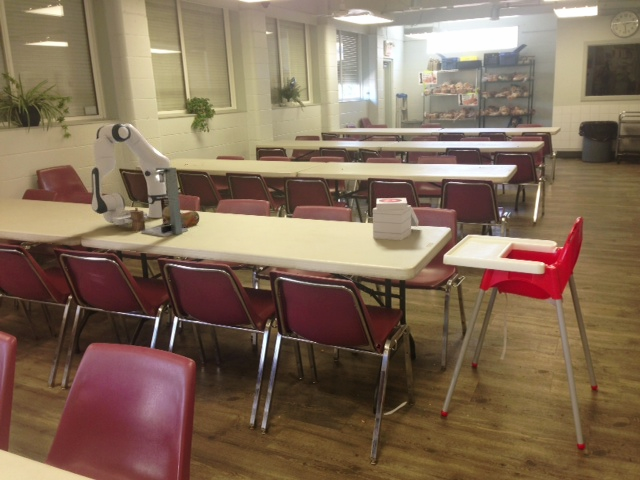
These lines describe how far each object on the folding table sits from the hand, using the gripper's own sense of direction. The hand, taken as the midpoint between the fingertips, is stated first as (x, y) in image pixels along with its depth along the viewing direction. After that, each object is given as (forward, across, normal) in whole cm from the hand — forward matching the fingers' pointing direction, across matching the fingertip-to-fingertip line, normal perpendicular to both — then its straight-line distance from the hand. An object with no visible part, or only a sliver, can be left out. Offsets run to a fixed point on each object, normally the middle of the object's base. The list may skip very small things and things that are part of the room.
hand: (138, 219), depth 324 cm
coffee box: (+2, +21, +6) cm, 22 cm away
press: (+18, +1, +6) cm, 19 cm away
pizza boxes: (+131, +60, +6) cm, 145 cm away
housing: (-1, 0, +6) cm, 6 cm away
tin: (+17, +21, +6) cm, 28 cm away
